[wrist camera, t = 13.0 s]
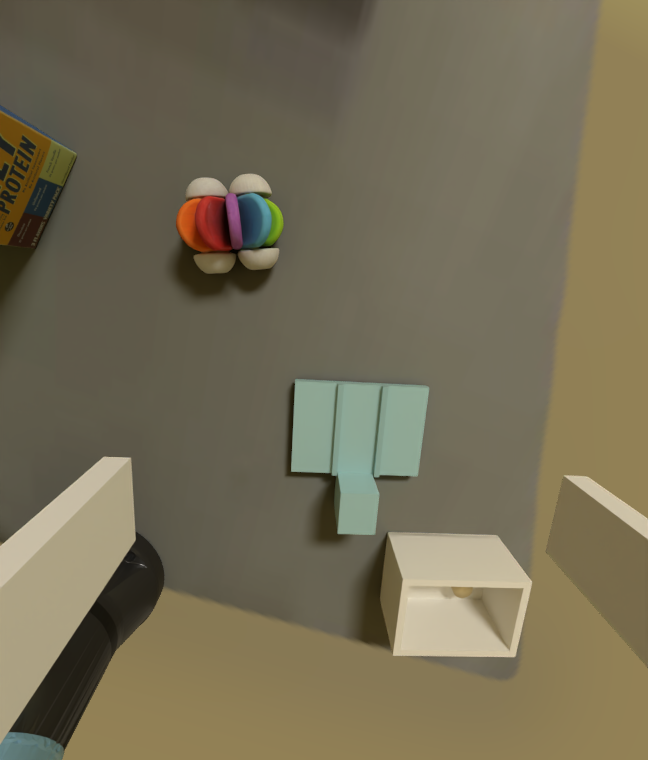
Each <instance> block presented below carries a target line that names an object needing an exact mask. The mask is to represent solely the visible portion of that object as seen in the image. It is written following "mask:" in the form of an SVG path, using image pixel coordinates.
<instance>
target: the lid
mask: <svg viewBox="0 0 648 760" xmlns="http://www.w3.org/2000/svg"><path fill="white" fill-rule="evenodd" d="M428 394H429V387H428V386H424V385H404V384H384V383H364V382H344V381H325V380H305V379H295V397H294V419H293V441H292V463H291V472H316V473H331V474H332V476H336V481H335V495H334V508H335V516H336V525H337V533H338V534H361V535H375V529H376V520H377V511H378V502H379V492H378V489H377V486H376V483H375V480H374V477H379V475H397V476H418V469H419V462H420V454H421V447H422V439H423V431H424V424H425V416H426V409H427V401H428ZM373 476H374V477H373Z"/></svg>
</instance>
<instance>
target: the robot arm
mask: <svg viewBox="0 0 648 760" xmlns="http://www.w3.org/2000/svg"><path fill="white" fill-rule="evenodd" d="M546 553H547V554H548V555H549V556H550V558H551V559H552V560H553V561H554V562H555V563H556V564H557V566H558V567H559V568H560V569H561V570H562V571H563V572H564V573H565V575H566V576H567V577H568V578H569V579H570V580H571V581H572V582H573V584H574V585H575V586H576V587H577V588H578V589H579V590H580V591H581V593H582V594H583V595H584V596H585V597H586V598H587V599H588V601H589V602H590V603H591V604H592V605H593V606H594V607H595V609H596V610H597V611H598V612H599V613H600V614H601V615H602V617H603V618H604V619H605V620H606V621H607V622H608V623H609V624H610V626H611V627H612V628H613V629H614V630H615V631H616V632H617V633H618V635H619V636H620V637H621V638H622V639H623V640H624V641H625V643H627V645H628V646H629V647H630V648H631V649H632V651H633V652H634V653H635V654H636V655H637V656H638V657H639V658H640V659H641V661H642V662H643V663H644V664H645V665H646V666H647V668H648V519H647V518H646V517H645V516H643V515H641V514H640V513H639V512H637V511H636V510H634V509H633V508H631V507H630V506H629V505H627V504H626V503H624V502H623V501H622V500H620V499H619V498H617V497H616V496H614V495H613V494H611V493H610V492H609V491H607V490H606V489H604V488H603V487H601V486H600V485H599V484H597V483H596V482H594V481H593V480H591V479H590V478H588V477H586V476H563V479H562V484H561V488H560V492H559V496H558V501H557V505H556V509H555V514H554V518H553V522H552V527H551V531H550V535H549V539H548V544H547V548H546ZM163 585H164V570H163V565H162V562H161V560H160V557H159V555H158V554H157V552H156V550H155V549H154V548H153V546H152V545H151V544H150V543H149V542H148V541H147V540H146V539H145V538H144V537H142V536H141V535H140V534H138V533H137V532H135V519H134V502H133V484H132V467H131V458H121V457H103V458H102V459H101V460H100V461H99V462H97V463H96V464H95V465H94V466H93V467H92V468H90V469H89V470H88V471H87V472H86V473H85V474H83V475H82V476H81V477H80V478H79V479H78V480H76V481H75V482H74V483H73V484H72V485H71V486H70V487H68V488H67V489H66V490H65V491H64V492H63V493H61V494H60V495H59V496H58V497H57V498H56V499H54V500H53V501H52V502H51V503H50V504H49V505H47V506H46V507H45V508H44V509H43V510H42V511H41V512H39V513H38V514H37V515H36V516H35V517H34V518H32V519H31V520H30V521H29V522H28V523H27V524H25V525H24V526H23V527H22V528H21V529H20V530H19V531H17V532H16V533H15V534H14V535H13V536H12V537H10V538H9V539H8V540H7V541H6V542H5V543H3V544H2V545H1V546H0V760H62V758H63V755H64V750H65V748H66V746H67V744H68V742H69V740H70V739H71V737H72V735H73V733H74V731H75V729H76V727H77V725H78V723H79V721H80V719H81V717H82V715H83V713H84V711H85V709H86V707H87V705H88V703H89V701H90V700H91V698H92V696H93V694H94V692H95V690H96V688H97V686H98V684H99V682H100V680H101V678H102V676H103V674H104V672H105V670H106V668H107V666H108V664H109V662H110V660H111V658H112V656H113V654H114V653H115V651H116V650H117V649H118V648H119V647H120V645H122V644H123V642H125V640H126V639H127V638H128V637H129V636H130V635H131V634H132V633H133V632H134V631H135V630H136V629H137V628H138V627H139V626H140V625H141V624H142V623H143V622H144V621H145V620H146V619H147V618H148V617H149V615H150V614H151V612H152V611H153V609H154V607H155V605H156V603H157V601H158V599H159V597H160V594H161V592H162V589H163Z"/></svg>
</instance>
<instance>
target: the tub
mask: <svg viewBox="0 0 648 760" xmlns="http://www.w3.org/2000/svg"><path fill="white" fill-rule="evenodd" d="M531 585H532V581H531V580H530V579H529V577H528V576H527V575H526V573H525V572H524V571H523V569H522V568H521V567H520V565H519V564H518V563H517V561H516V560H515V559H514V557H513V556H512V555H511V553H510V552H509V551H508V549H507V548H506V547H505V545H504V544H503V543H502V541H501V540H500V539H499V537H498V536H497V535H474V534H441V533H408V532H388V533H387V542H386V550H385V559H384V567H383V576H382V584H381V593H380V602H381V606H382V611H383V615H384V619H385V624H386V628H387V632H388V637H389V641H390V645H391V650H392V654H393V655H394V656H472V657H515V656H516V652H517V647H518V643H519V638H520V634H521V630H522V625H523V621H524V616H525V612H526V607H527V603H528V599H529V594H530V590H531Z"/></svg>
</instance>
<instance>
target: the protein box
mask: <svg viewBox="0 0 648 760" xmlns="http://www.w3.org/2000/svg"><path fill="white" fill-rule="evenodd" d="M76 156H77V154H76V153H75V152H73V151H72V150H70V149H69V148H67V147H66V146H64V145H62V144H61V143H59V142H58V141H56V140H55V139H53V138H51V137H50V136H48V135H47V134H45V133H44V132H42V131H40V130H39V129H37V128H36V127H34V126H33V125H31V124H29V123H28V122H26V121H25V120H23V119H21V118H20V117H18V116H17V115H15V114H13V113H12V112H10V111H9V110H7V109H5V108H4V107H2V106H0V245H8V246H17V247H25V248H33V249H35V248H36V245H37V243H38V241H39V238H40V236H41V234H42V232H43V229H44V227H45V225H46V223H47V220H48V218H49V216H50V214H51V212H52V210H53V208H54V205H55V203H56V201H57V199H58V196H59V194H60V192H61V190H62V188H63V185H64V183H65V181H66V179H67V176H68V174H69V172H70V170H71V167H72V165H73V163H74V161H75V159H76Z"/></svg>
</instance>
